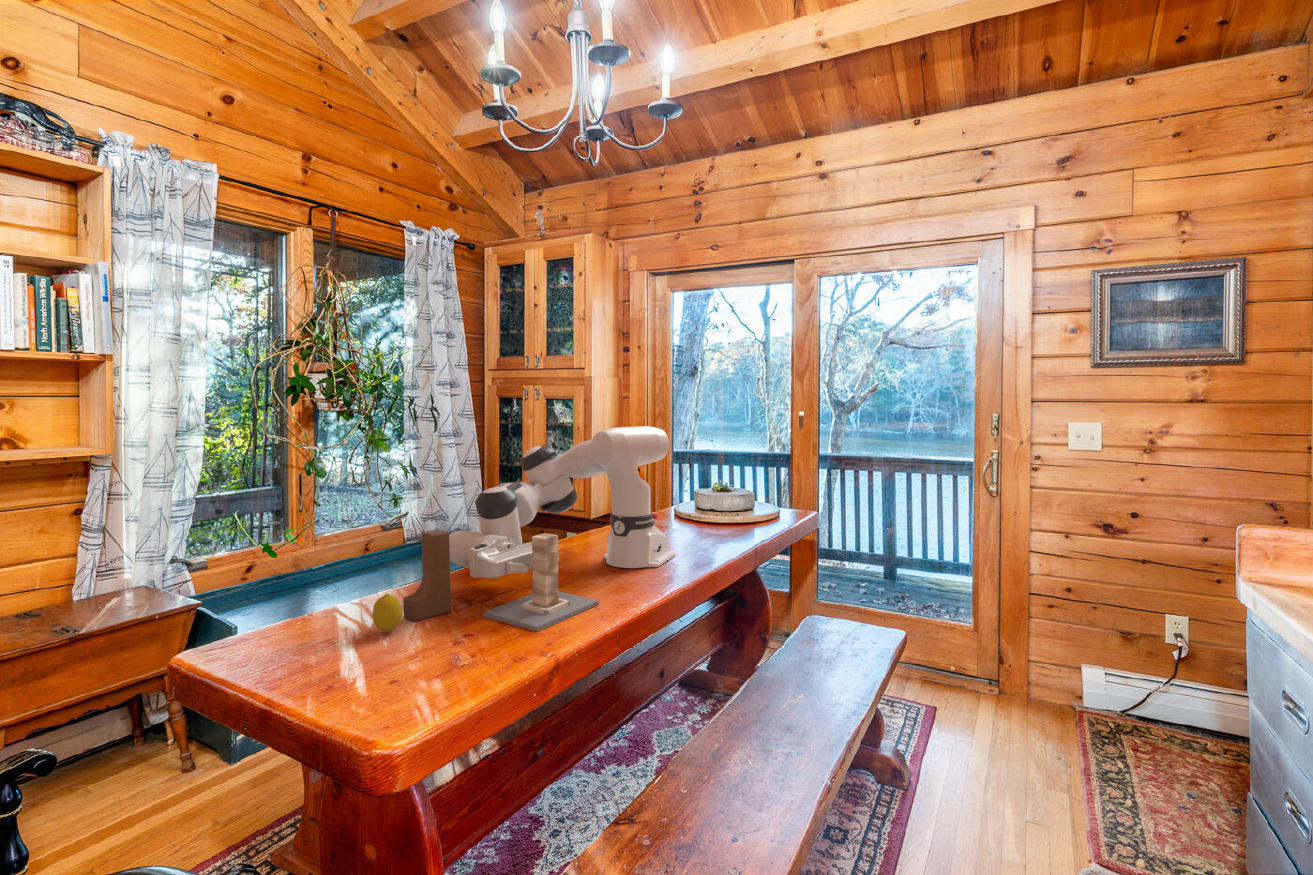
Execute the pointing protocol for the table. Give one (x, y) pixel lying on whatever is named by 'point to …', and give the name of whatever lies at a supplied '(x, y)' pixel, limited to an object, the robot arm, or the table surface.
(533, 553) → the birch column
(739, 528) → the table surface
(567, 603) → the base board
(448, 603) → the brown boot
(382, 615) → the lemon
